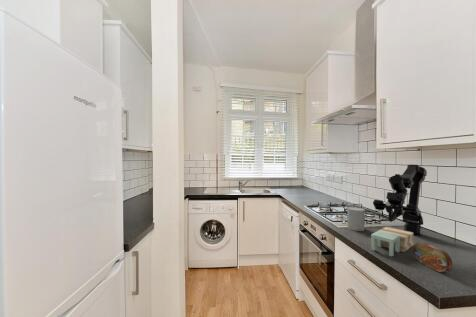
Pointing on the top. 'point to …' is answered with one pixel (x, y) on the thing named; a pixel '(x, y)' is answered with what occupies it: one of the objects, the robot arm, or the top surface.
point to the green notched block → (388, 238)
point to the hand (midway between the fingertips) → (390, 221)
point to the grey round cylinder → (356, 218)
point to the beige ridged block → (405, 238)
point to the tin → (432, 257)
